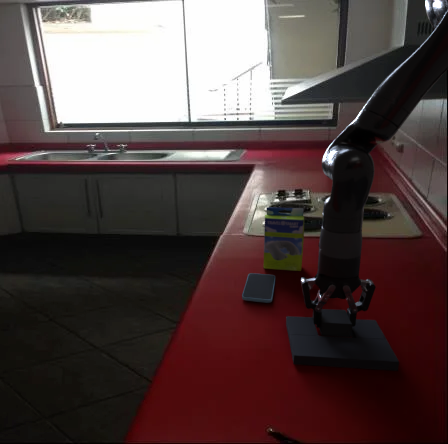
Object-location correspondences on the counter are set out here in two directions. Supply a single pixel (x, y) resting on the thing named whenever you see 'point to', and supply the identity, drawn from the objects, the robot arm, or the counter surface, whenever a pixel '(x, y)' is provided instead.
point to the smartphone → (259, 288)
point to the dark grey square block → (335, 323)
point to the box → (283, 239)
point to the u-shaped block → (340, 346)
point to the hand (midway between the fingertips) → (333, 325)
